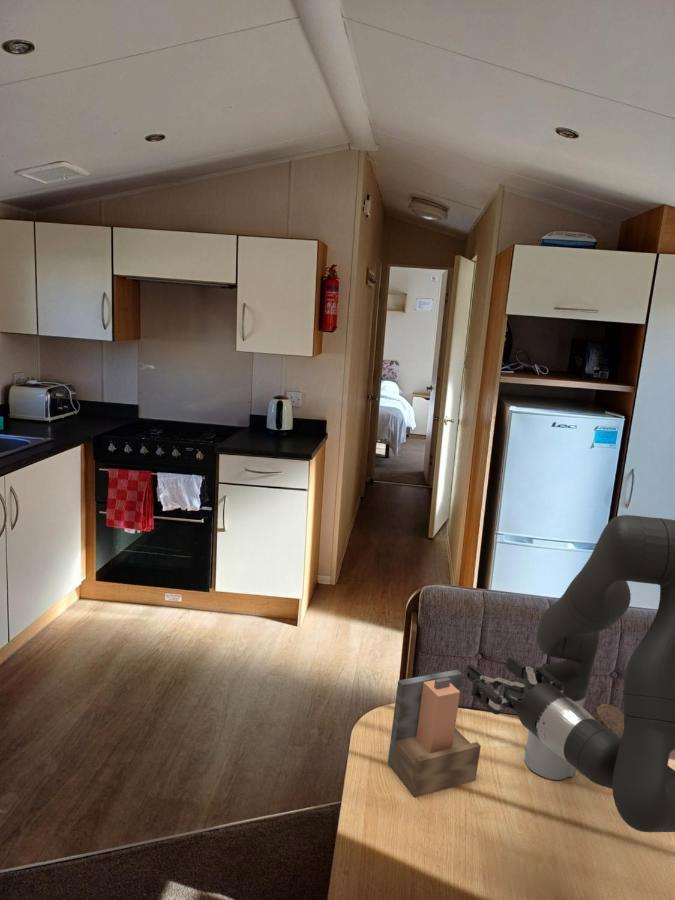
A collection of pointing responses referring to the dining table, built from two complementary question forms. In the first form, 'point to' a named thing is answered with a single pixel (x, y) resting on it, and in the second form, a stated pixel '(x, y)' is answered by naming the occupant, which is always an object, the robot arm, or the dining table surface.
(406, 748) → the grey brown l-shaped block
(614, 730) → the rock
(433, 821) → the dining table surface
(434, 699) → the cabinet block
